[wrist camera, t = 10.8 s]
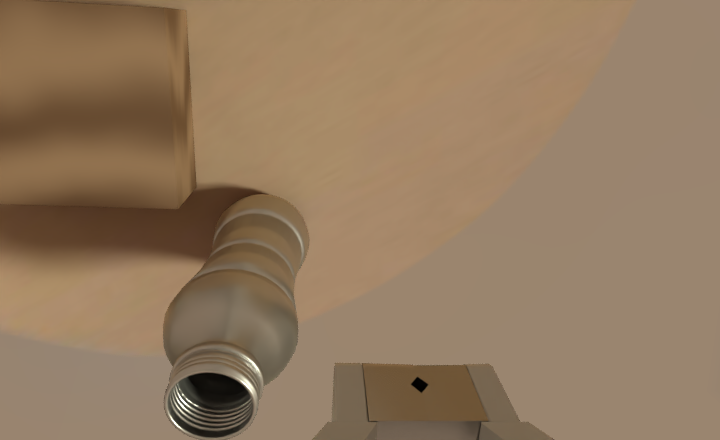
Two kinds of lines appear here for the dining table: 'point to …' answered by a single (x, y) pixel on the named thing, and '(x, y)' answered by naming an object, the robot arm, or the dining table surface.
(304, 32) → the dining table surface
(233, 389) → the plastic bottle
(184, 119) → the brown wooden block
